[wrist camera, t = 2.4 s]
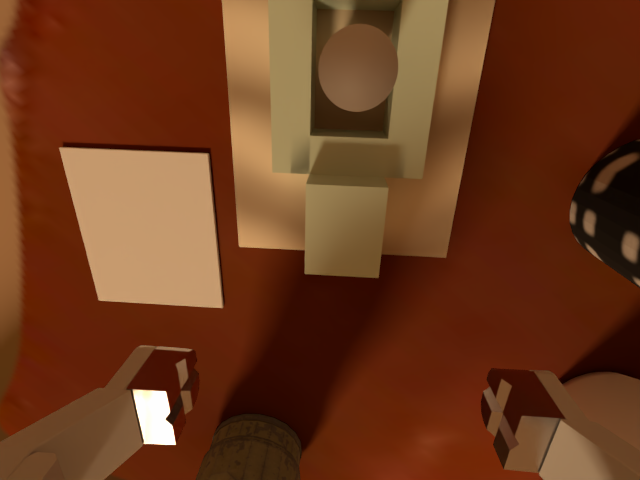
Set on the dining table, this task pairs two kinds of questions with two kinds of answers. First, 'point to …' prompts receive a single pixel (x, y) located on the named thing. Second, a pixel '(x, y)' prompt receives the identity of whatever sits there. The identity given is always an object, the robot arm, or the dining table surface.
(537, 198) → the dining table surface
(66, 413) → the robot arm
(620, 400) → the alcohol
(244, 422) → the stone moai statue
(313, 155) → the link
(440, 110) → the post stand
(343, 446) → the dining table surface
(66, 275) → the dining table surface
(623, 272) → the white-spotted black cylinder
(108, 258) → the mat
